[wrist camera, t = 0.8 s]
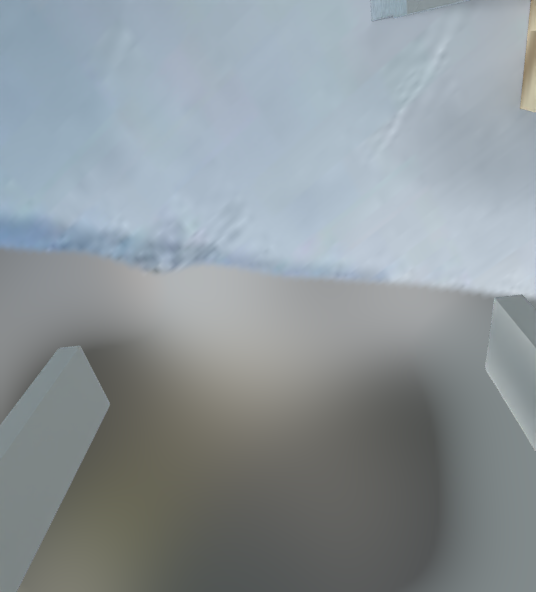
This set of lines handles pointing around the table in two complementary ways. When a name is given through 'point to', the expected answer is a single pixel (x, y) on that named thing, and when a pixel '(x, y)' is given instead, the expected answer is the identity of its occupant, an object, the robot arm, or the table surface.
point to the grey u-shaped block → (405, 7)
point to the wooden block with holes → (530, 64)
